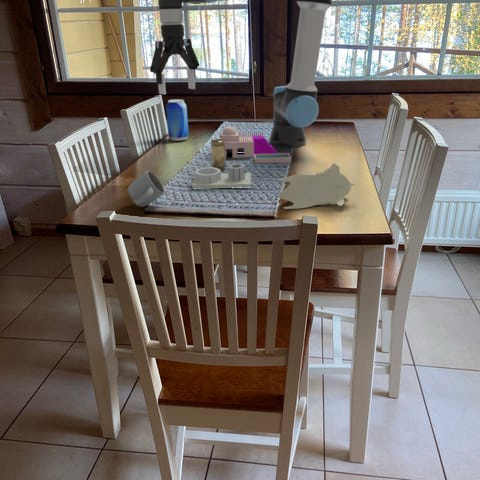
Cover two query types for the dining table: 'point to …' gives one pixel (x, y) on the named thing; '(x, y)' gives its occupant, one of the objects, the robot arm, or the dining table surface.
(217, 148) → the cylinder
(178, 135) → the beer can
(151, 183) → the ceramic mug
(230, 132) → the model house
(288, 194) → the beige lumpy piece
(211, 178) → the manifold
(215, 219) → the dining table surface
